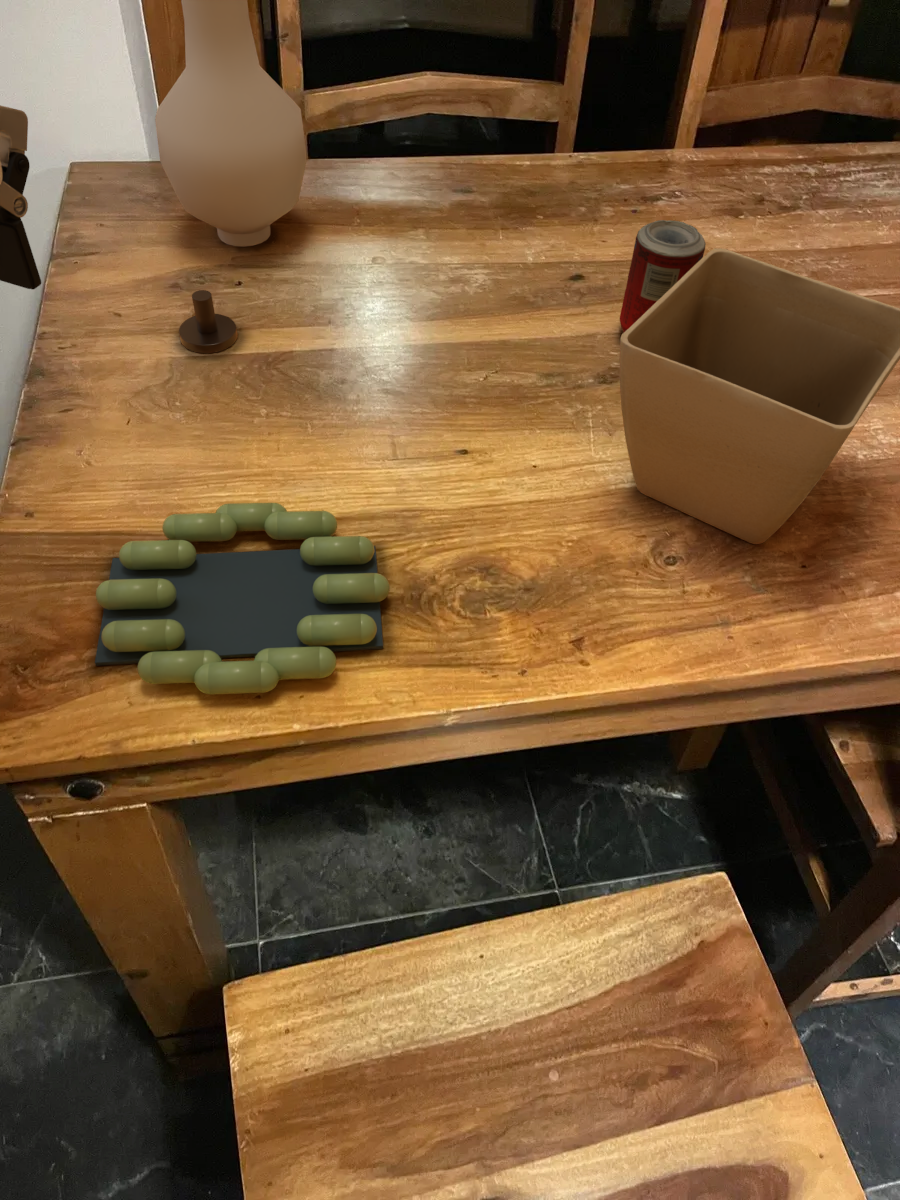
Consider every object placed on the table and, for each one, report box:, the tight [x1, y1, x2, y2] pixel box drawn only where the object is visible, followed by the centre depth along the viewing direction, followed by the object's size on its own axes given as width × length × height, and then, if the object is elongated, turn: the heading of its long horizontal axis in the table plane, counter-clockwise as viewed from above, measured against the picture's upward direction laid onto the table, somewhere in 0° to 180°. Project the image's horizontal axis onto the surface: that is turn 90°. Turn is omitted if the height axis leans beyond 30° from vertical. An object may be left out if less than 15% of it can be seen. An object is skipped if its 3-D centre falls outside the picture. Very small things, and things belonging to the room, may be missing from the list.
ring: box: [95, 502, 391, 695], centre depth 75 cm, size 23×19×2 cm
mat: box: [94, 545, 384, 667], centre depth 76 cm, size 22×11×1 cm, turn 96°
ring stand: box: [178, 289, 238, 354], centre depth 98 cm, size 6×6×5 cm
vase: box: [154, 0, 307, 248], centre depth 104 cm, size 17×16×28 cm
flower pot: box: [619, 247, 900, 545], centre depth 82 cm, size 19×19×17 cm
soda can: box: [619, 219, 707, 334], centre depth 99 cm, size 7×7×12 cm
